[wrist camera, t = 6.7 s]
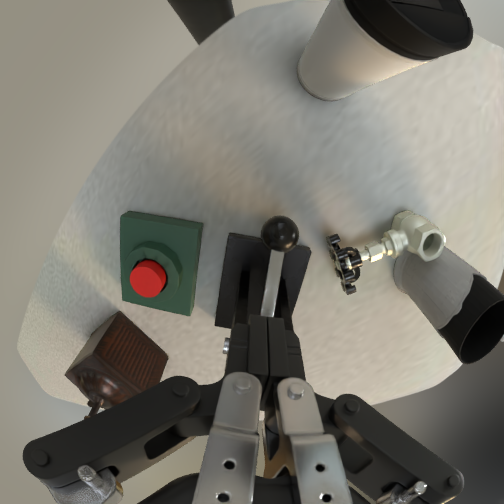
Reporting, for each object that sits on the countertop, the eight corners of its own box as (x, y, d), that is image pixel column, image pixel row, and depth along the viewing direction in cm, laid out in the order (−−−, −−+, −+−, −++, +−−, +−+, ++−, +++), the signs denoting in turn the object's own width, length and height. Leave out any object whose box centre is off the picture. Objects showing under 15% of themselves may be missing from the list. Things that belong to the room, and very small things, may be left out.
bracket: (229, 232, 30) (210, 294, 18) (309, 247, 30) (338, 314, 18) (215, 320, 34) (198, 398, 22) (284, 331, 35) (292, 410, 23)
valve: (412, 194, 27) (321, 227, 29) (444, 208, 21) (336, 249, 23) (420, 243, 29) (336, 277, 31) (448, 265, 23) (351, 307, 25)
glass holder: (416, 222, 28) (497, 279, 15) (472, 264, 30) (535, 318, 17) (381, 282, 32) (438, 363, 18) (442, 311, 34) (492, 376, 20)
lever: (262, 216, 25) (266, 208, 22) (296, 223, 25) (305, 216, 22) (237, 358, 23) (238, 369, 20) (272, 363, 24) (277, 374, 20)
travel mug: (285, 54, 22) (326, -72, 4) (343, 45, 21) (446, -48, 3) (303, 107, 24) (395, 42, 6) (361, 96, 23) (502, 56, 5)
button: (136, 256, 27) (129, 263, 26) (167, 262, 27) (162, 270, 26) (136, 285, 29) (130, 293, 27) (166, 292, 29) (161, 300, 27)
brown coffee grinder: (86, 337, 37) (34, 417, 20) (119, 308, 34) (56, 405, 18) (153, 394, 42) (125, 478, 25) (195, 376, 39) (171, 477, 22)
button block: (128, 210, 29) (112, 220, 25) (203, 223, 29) (195, 235, 26) (128, 291, 33) (116, 308, 29) (193, 306, 34) (186, 325, 30)
